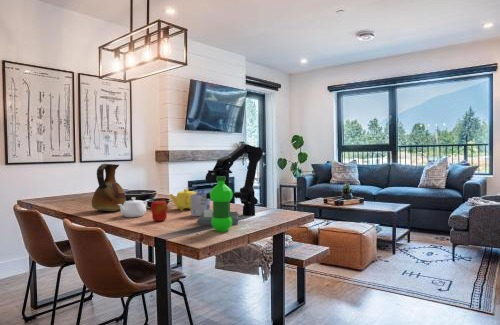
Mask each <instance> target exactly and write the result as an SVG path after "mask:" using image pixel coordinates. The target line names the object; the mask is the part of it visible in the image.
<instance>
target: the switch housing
mask: <svg viewBox="0 0 500 325" xmlns="http://www.w3.org/2000/svg"><path fill="white" fill-rule="evenodd" d="M230 217H231V219H232V225H233V226H235V225H238V224H239V213H238V211H230ZM212 218H213V217H204V212H202V214H201V215H200V216H198V219H197V226H212V224H211V220H212Z"/></svg>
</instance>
